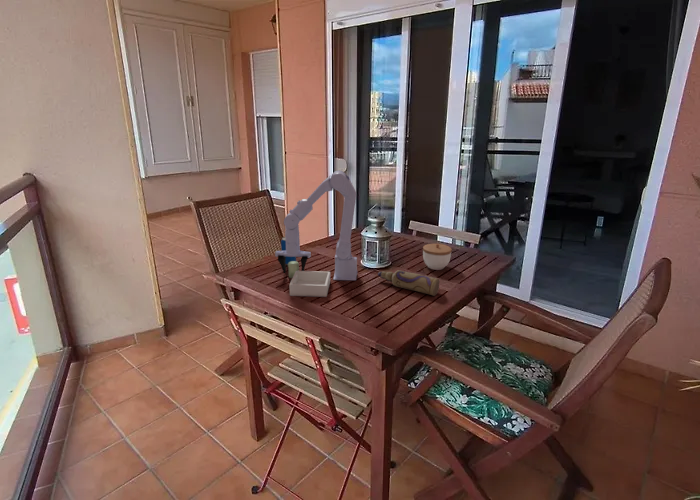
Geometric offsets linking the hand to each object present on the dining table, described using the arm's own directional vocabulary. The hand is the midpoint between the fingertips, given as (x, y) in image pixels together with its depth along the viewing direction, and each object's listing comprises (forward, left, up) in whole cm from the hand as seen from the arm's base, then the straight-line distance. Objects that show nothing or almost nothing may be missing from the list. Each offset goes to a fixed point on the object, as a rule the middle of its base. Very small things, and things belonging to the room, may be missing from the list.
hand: (293, 272), depth 168 cm
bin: (-9, +12, -2) cm, 15 cm away
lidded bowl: (-62, -16, -2) cm, 64 cm away
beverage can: (+5, -15, -2) cm, 16 cm away
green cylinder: (0, 0, -2) cm, 2 cm away
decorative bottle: (-48, +7, -2) cm, 49 cm away
